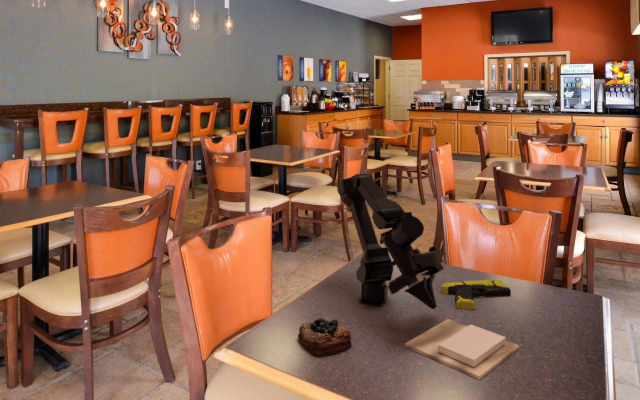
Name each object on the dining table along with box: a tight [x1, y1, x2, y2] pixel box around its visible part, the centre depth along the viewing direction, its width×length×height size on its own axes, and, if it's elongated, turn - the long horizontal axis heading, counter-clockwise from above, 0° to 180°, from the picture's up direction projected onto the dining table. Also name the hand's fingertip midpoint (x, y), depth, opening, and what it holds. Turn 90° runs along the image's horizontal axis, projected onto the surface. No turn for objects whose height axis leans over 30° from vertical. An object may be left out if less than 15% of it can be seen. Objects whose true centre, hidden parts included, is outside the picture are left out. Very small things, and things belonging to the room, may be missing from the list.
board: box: [404, 318, 520, 381], centre depth 116 cm, size 19×18×1 cm
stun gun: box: [439, 279, 512, 311], centre depth 143 cm, size 3×19×15 cm
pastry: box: [297, 317, 352, 358], centre depth 119 cm, size 11×12×6 cm
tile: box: [438, 324, 507, 367], centre depth 114 cm, size 2×14×9 cm
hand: (434, 308), depth 121 cm, fingers closed
